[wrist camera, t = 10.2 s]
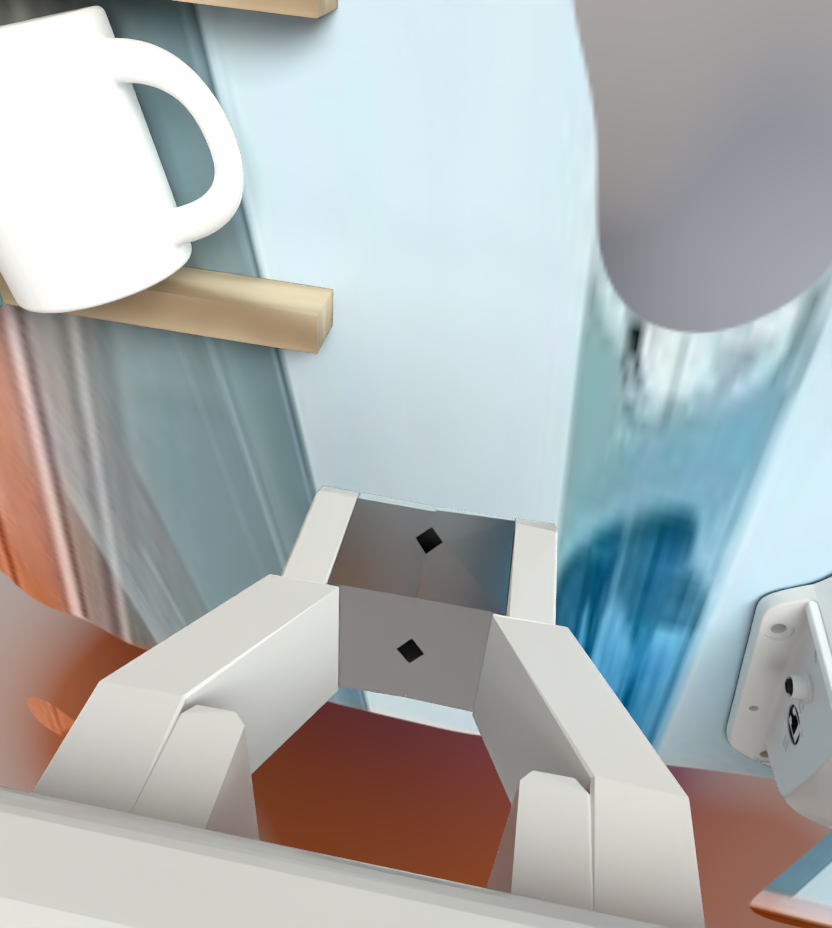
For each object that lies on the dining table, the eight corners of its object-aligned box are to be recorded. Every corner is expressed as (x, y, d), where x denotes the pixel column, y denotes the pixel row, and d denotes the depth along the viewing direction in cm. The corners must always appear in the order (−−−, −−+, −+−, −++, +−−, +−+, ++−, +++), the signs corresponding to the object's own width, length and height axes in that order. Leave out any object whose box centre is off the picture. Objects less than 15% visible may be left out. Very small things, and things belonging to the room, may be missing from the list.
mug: (78, 251, 38) (-19, 323, 32) (-24, 31, 32) (-167, 65, 26) (296, 223, 35) (237, 296, 29) (227, -25, 29) (134, -1, 23)
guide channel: (332, 325, 38) (305, 375, 34) (2, 273, 39) (-61, 315, 35) (338, -54, 28) (300, -45, 24) (-105, -106, 29) (-208, -105, 25)
